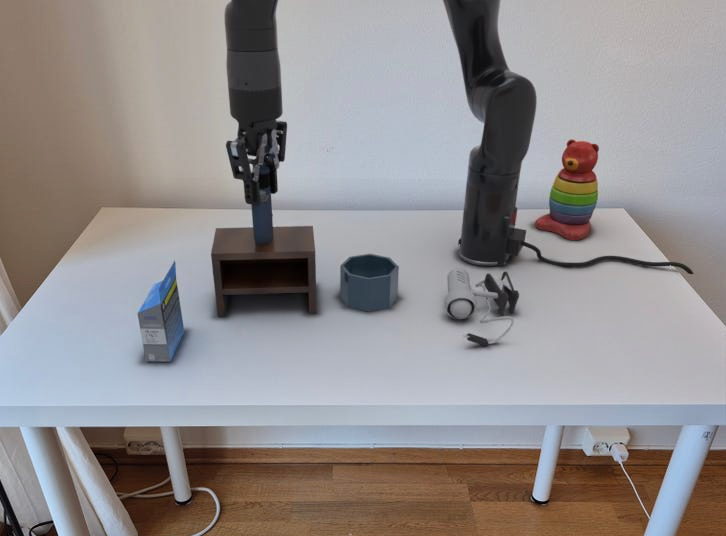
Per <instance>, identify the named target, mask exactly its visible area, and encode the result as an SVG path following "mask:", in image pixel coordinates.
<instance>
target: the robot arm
mask: <svg viewBox="0 0 726 536" xmlns="http://www.w3.org/2000/svg"><path fill="white" fill-rule="evenodd" d="M442 2H443V6H444V9H445V12H446V16H447V21H448V23H449V26H450V29H451V33H452V36H453V39H454V42H455V45H456V48H457V52H458V56H459V62H460V66H461V72H462V78H463V85H464V90H465V97H466V101H467V104H468V108H469V110H470V112H471V114H472V115H473V116H474V118H475V119H477V121H479V122H481V123H482V124H483V128H482V129H483V130H482V136H481V140H480V141H481V142H480V144H479V145H476V146H474V147H473V148H472V149H470V151H469V156H468V157H469V158H468V163H467V164H468V166H467V175H466V184H465V194H464V204H463V212H462V213H463V214H462V222H461V223H462V224H461V232H460V238H458V242H457V243H458V244H457V246H458V247H459V249H458V256H459V258H460V259H461V260H463V261H464V262H466V263H468V264H472V265H476V266H482V267H494V266H495V267H496V266H499V267H504V266H505V264H506V263H507V261H509V258H510V256H511V255H513V256H519V254H520V252H521V251H522V250H523V247H526V248H528V249H530V250H532V251H534V252H535V253H536V258H538V260H539V261H541V262H543V263H545V264H550V265H552V266H553V265H554V266H558V267H565V268H579V267H580V268H581V267H582V268H583V267H588V266H592V265H593V264H596V263H598V262H602V261H620V262H626V263H630V264H635V265H640V266H646V267H675V268H680V269H682V270H684V271H685V272H686V273H687V274H689V275H694V272H693V270H692V269H691V268H690V267H689V266H688V265H686V264H684V263H681V262H675V261H658V262H657V261H645V260H641V259H636V258H631V257H627V256H619V255H603V256H602V255H601V256H598V257H595V258H592V259H590V260H587V261H583V262H581V261H580V262H564V261H563V262H561V261H554V260H550V259H549V258H546V257H544V256H542V252H541V250H540V249H539V248H538V247H537V246H535V245H534V244H531V243H529V242H526V235H527V229H523V228H517V227H516V221H517V214H518V207H517V206H516V204H517V197H518V191H519V184H520V177H521V171H522V165H523V161H524V159H525V158H526V156H527V154H528V152H529V148H530V144H531V138H532V133H533V128H534V123H535V119H536V112H537V105H538V104H537V102H538V101H537V100H538V99H537V98H538V97H537V91H536V88H535V86H534V84H533V83H532V81H531V80H530V79H528V78H527V77H525V76H524V75H521V74H519V73H517V72H514V71H512V70H510V68H509V66H508V63H507V61H506V58H505V55H504V51H503V48H502V44H501V39H500V35H499V15H500V8H501V0H442ZM278 3H279V0H230V1H229V2H227V4H226V5H225V8H224V14H223V15H224V16H223V17H224V19H223V20H224V32H225V42H226V43H225V44H226V65H225V67H226V77H227V79H226V80H227V89H228V91H227V92H228V99H229V100H228V102H229V103H228V104H229V114H230V116H231V117H232V119H235V121H236V122H237V123H238V127H237V135H236V136H237V137H236V138H235V139H234V140H227V141H226V143H225V148H226V152H227V157H228V160H229V163H230V168H231V172H232V176H233V178H234V179H235V180H241V181H242V182H243V193H244V201H245V203H246V204H247V205H250V206H251V205H258V204H259V203H260V191H259V180H258V177H259V168H260V166H261V165H262V164H263V161H264V162H265V166H267V167H269V172H270V190H271V195H274V194H276V193H278V190H279V189H278V188H279V187H278V170H279V168H280V163H284V162H285V160H286V146H287V132H288V123H287V121H283V120H278V119H280V118H281V117H282V115H283V113H284V112H283V89H282V68H281V59H280V54H279V40H278V23H277V22H278V21H277V10H278V9H277V8H278ZM249 157H254V158H249ZM251 165H252V169H251ZM670 265H671V266H670Z"/></svg>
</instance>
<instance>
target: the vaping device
mask: <svg viewBox="0 0 726 536" xmlns="http://www.w3.org/2000/svg"><path fill="white" fill-rule="evenodd" d="M258 180H259V191H260V203H259V204H258V205H251V204H250V206H251V216H252V217H251V218H252V219H251V220H252V227H253V234H254V240H255V243H256V244H258V245H267V244H269V243H270V241H271V239H272V237H273V227H274V223H273V221H274V220H273V216H274V214H273V204H272V194H271V190H270V172H269V167H267V166H265V162H264V161H263V164H262V165H261V166H260V168H259V177H258Z"/></svg>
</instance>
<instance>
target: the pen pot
mask: <svg viewBox="0 0 726 536" xmlns="http://www.w3.org/2000/svg"><path fill="white" fill-rule="evenodd" d="M339 267H340V270H339V271H340V276H339V277H340V279H339V280H340V283H339V284H340V285H339V286H340V287H339V288H340V289H339V290H340V291H339V292H340V295H339V297H340V299H341V300H342V302H343V303H344V304H345V305H346V307H347V308H351V309H353V310H359V311H363V312H367V313H368V312H369V313H370V312H375V311H381V310H387V309H390V308H391V307H392V306H393V304H395V302H396V301H397V299H398V290H399V273H400V272H399V271H400V267H399V265H398V264H397V263H396V262H395V261H394V260H393V259H392V258H391V257H388V256H384V255H378V254H374V253H366V254H359V255H353V256H349V257H347V259H345V260H344V261H343V262H342V263H341V264H340V265H339Z"/></svg>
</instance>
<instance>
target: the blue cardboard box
mask: <svg viewBox="0 0 726 536" xmlns="http://www.w3.org/2000/svg"><path fill="white" fill-rule="evenodd" d="M176 266H177V265H176V260H173V262H172V264H171V266H170V267H169V269H168V271H167V272H166V274H165V276H164V277H163V280H162V281H159V282H157V283H154V284H153V285H152V287H151V289H150V291H149V293H148V294H147V296H146V298H145V299H144V300H143V301H144V302H143V303H142V305H141V306H140V308H139V309H138V311H137V313H136V314H137V319H138V325H139V329H140V335H141V342H142V346H143V352H144V358H145V361H146V362H147V363H171V362H172V359H173V357H174V355H175V353H176V351H177V349H178V347H179V344H180V343H181V340H182V338H183V335H184V333H185V326H184V320H183V314H182V313H183V312H182V307H181V301H180V294H179V288H178V281H177V272H176V271H177V268H176Z"/></svg>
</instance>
